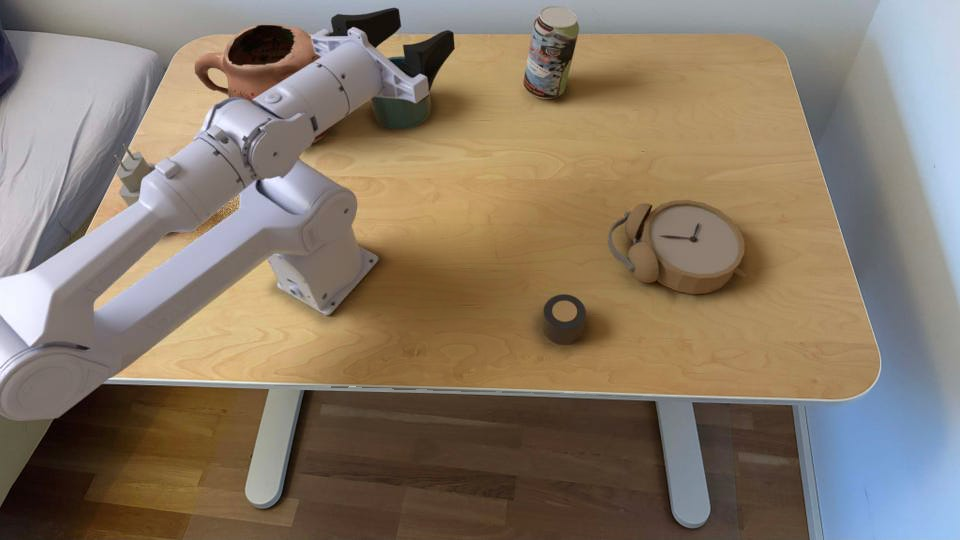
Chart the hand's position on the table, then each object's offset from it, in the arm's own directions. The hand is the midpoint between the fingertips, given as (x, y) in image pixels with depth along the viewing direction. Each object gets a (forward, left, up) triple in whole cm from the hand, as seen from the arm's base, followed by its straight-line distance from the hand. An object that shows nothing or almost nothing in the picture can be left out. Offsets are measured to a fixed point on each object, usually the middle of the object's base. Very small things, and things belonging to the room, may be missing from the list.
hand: (424, 28), depth 70 cm
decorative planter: (-4, +24, -22) cm, 33 cm away
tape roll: (-13, -25, -21) cm, 35 cm away
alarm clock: (+2, -31, -22) cm, 38 cm away
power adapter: (-25, +26, -22) cm, 42 cm away
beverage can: (+21, -4, -22) cm, 30 cm away
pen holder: (+7, +12, -21) cm, 26 cm away
